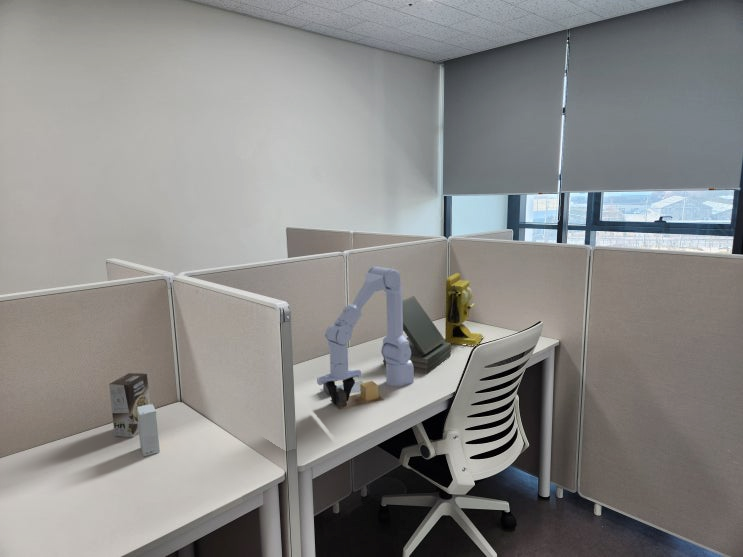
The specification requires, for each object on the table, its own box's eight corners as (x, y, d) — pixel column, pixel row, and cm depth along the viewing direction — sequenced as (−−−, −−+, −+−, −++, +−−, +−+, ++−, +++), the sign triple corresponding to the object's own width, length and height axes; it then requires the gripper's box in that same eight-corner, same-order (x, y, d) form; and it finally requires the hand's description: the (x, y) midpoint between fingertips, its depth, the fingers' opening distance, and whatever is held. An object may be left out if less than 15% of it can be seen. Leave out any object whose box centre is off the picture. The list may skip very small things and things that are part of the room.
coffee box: (133, 438, 141) (127, 385, 138) (113, 436, 142) (107, 383, 139) (153, 423, 149) (148, 373, 147) (134, 421, 151) (128, 372, 148)
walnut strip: (373, 393, 168) (373, 378, 167) (384, 402, 161) (384, 387, 160) (330, 402, 162) (329, 387, 161) (339, 412, 154) (338, 396, 153)
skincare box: (160, 452, 133) (156, 411, 130) (143, 457, 130) (138, 415, 128) (156, 442, 138) (152, 403, 136) (140, 447, 135) (135, 406, 133)
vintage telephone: (471, 353, 208) (473, 284, 202) (439, 349, 213) (440, 282, 208) (487, 333, 235) (489, 272, 230) (459, 330, 241) (460, 270, 236)
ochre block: (372, 393, 166) (372, 380, 165) (378, 398, 162) (378, 385, 161) (360, 396, 164) (360, 383, 163) (366, 401, 160) (365, 388, 159)
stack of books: (426, 375, 185) (427, 311, 181) (382, 366, 196) (381, 305, 191) (450, 357, 204) (451, 299, 200) (409, 349, 215) (409, 294, 210)
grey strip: (361, 383, 177) (361, 369, 176) (371, 391, 170) (370, 376, 169) (319, 391, 170) (319, 377, 169) (327, 400, 163) (327, 385, 162)
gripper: (354, 354, 163) (355, 392, 165) (313, 361, 157) (314, 401, 159) (363, 360, 156) (364, 400, 159) (320, 368, 150) (322, 409, 153)
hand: (340, 401), depth 158 cm, fingers open, 4 cm apart
